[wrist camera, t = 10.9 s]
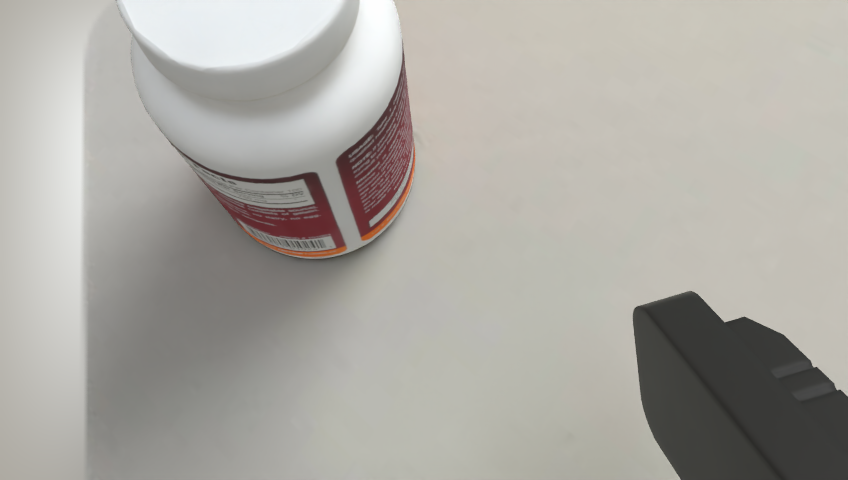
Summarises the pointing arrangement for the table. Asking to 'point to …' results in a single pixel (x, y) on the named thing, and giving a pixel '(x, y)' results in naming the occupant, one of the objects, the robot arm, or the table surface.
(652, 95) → the table surface
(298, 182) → the pill bottle
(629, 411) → the table surface
